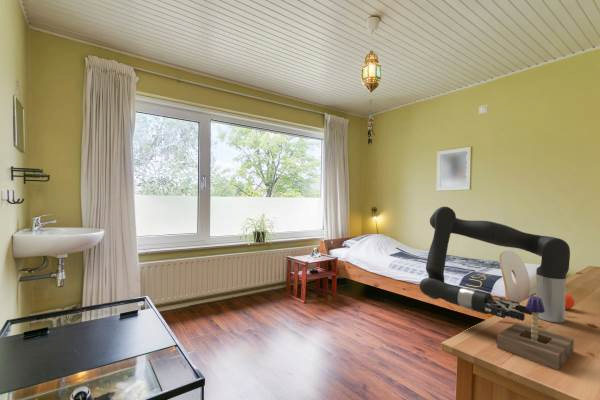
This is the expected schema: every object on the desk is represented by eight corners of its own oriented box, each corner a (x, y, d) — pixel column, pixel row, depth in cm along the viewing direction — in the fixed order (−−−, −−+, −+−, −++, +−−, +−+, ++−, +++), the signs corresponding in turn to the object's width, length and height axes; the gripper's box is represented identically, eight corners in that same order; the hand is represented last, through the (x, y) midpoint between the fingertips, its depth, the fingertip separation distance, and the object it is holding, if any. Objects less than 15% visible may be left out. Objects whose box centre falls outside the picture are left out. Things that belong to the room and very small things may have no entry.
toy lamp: (547, 354, 90) (548, 300, 90) (529, 352, 91) (531, 298, 91) (537, 347, 95) (539, 295, 95) (521, 345, 96) (522, 294, 96)
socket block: (516, 333, 105) (517, 322, 105) (573, 351, 93) (573, 339, 93) (496, 347, 94) (497, 334, 94) (557, 369, 82) (558, 355, 82)
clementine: (553, 304, 139) (553, 289, 139) (573, 307, 134) (573, 292, 134) (553, 308, 133) (554, 292, 133) (574, 312, 128) (575, 296, 128)
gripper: (466, 293, 104) (521, 307, 91) (483, 286, 112) (536, 299, 99) (465, 314, 104) (520, 331, 91) (482, 306, 112) (535, 321, 99)
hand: (528, 314), depth 95 cm, fingers open, 8 cm apart
